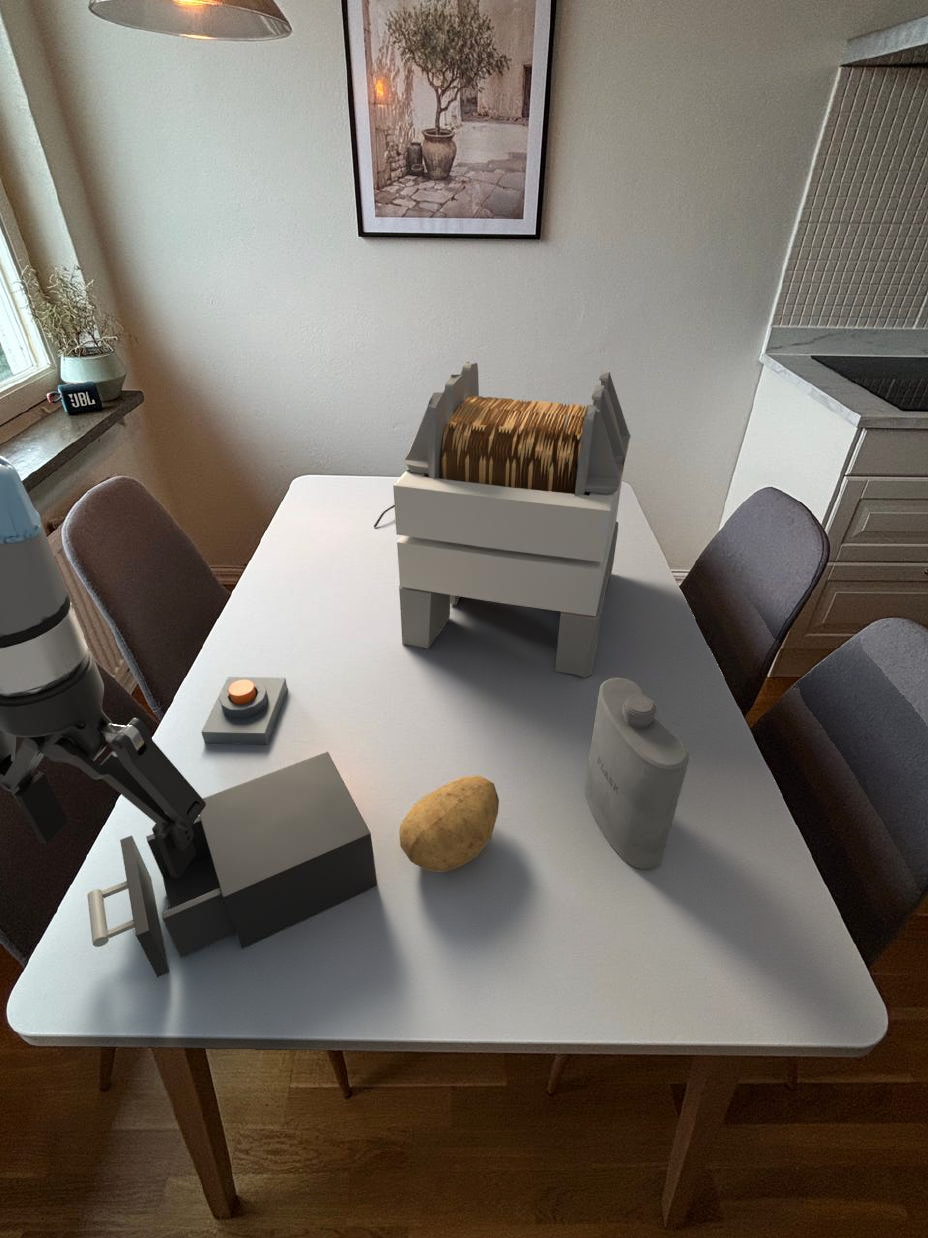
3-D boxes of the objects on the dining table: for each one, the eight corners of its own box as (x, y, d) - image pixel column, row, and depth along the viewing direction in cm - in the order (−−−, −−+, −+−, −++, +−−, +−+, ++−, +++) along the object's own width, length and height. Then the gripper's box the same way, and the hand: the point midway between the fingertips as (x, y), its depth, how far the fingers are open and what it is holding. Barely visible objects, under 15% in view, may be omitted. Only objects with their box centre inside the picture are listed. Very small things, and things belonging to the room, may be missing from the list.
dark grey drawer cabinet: (241, 950, 72) (223, 897, 67) (213, 853, 82) (195, 801, 76) (377, 886, 78) (370, 833, 73) (336, 803, 88) (327, 751, 83)
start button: (252, 705, 98) (249, 696, 97) (227, 704, 98) (225, 695, 97) (259, 688, 101) (257, 679, 100) (235, 688, 101) (232, 679, 100)
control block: (267, 744, 97) (262, 724, 94) (204, 743, 97) (198, 722, 95) (287, 688, 107) (283, 668, 104) (230, 687, 107) (225, 667, 104)
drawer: (111, 999, 67) (86, 957, 63) (99, 899, 76) (76, 856, 72) (296, 913, 75) (285, 871, 70) (265, 831, 84) (254, 788, 79)
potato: (520, 832, 84) (523, 788, 80) (440, 909, 76) (439, 865, 71) (462, 790, 90) (462, 747, 85) (382, 857, 82) (377, 814, 77)
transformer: (454, 550, 142) (451, 346, 118) (612, 572, 135) (643, 359, 111) (397, 646, 115) (380, 407, 92) (591, 680, 108) (626, 429, 84)
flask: (573, 782, 91) (588, 665, 79) (612, 772, 92) (633, 656, 81) (625, 877, 79) (652, 757, 68) (670, 864, 81) (704, 745, 69)
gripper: (214, 662, 50) (262, 844, 62) (-60, 611, 55) (34, 788, 67) (151, 733, 44) (217, 918, 56) (-150, 668, 49) (-29, 851, 61)
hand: (118, 848), depth 62 cm, fingers open, 13 cm apart
